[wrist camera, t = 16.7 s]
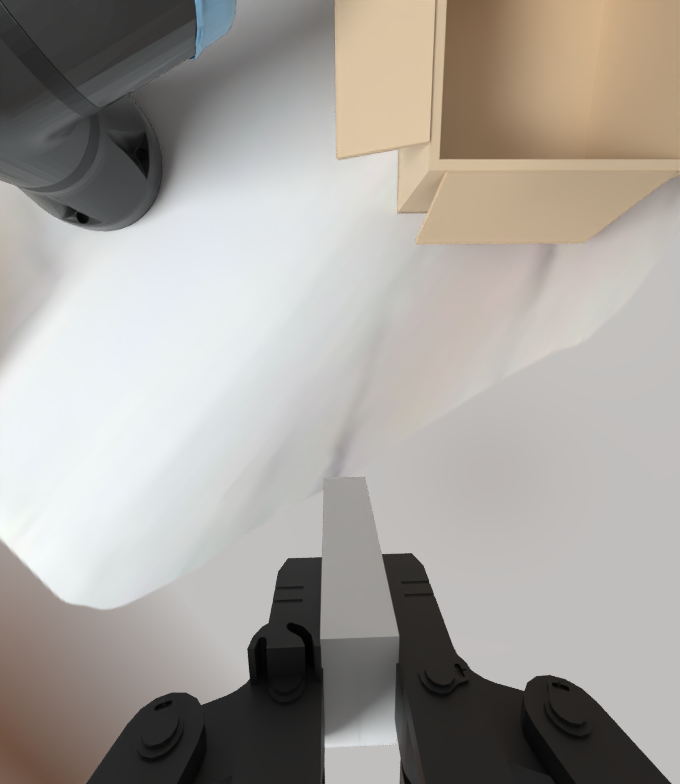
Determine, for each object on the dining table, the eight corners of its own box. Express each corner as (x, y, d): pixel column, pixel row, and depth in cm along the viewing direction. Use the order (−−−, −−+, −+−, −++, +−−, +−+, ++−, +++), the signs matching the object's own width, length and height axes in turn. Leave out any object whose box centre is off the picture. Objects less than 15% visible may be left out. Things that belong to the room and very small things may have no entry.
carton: (633, 247, 45) (770, 221, 31) (335, 249, 44) (338, 224, 30) (676, -13, 39) (871, -191, 25) (331, -18, 38) (333, -206, 24)
